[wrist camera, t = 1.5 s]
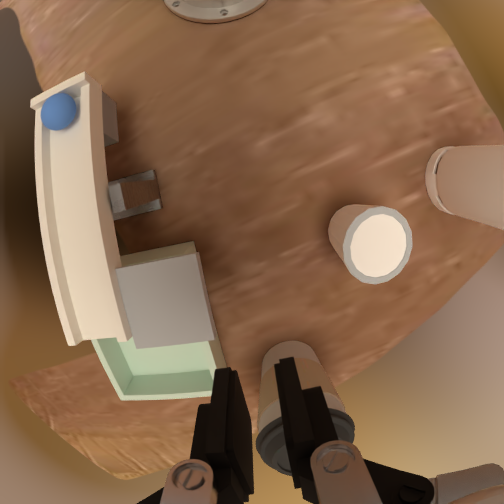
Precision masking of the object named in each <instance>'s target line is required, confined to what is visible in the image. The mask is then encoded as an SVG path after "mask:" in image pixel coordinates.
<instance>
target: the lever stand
mask: <svg viewBox="0 0 504 504" xmlns="http://www.w3.org/2000/svg"><path fill="white" fill-rule="evenodd" d="M108 189H109V195H110V202H111V209H112V215H113V221H114V220H117V219H121V218H125V217H129V216H133V215H137V214H141V213H145V212H149V211H153V210H158V209H161V208H163V206H162V201H161V197H160V192H159V187H158V182H157V177H156V172H155V170H150V171H146V172H142V173H139V174H135V175H132V176H128V177H125V178H122V179H118V180H115V181H112V182H108Z"/></svg>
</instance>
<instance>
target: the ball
mask: <svg viewBox="0 0 504 504" xmlns="http://www.w3.org/2000/svg"><path fill="white" fill-rule="evenodd" d="M75 114H76V104H75V101H74V99H73V98H72V97H71V96H70V95H68V94H66V93H57V94H54V95H52V96H50V97H49V98H48V99H47V100H46V101H45V102H44V104H43V106H42V109H41V121H42V123H43V125H44V126H45V127H46V128H48V129H50V130H55V131H57V130H61V129H64V128H65V127H67V126H68V125H69V124H70V123H71V122H72V121H73V119H74V117H75Z"/></svg>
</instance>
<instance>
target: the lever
mask: <svg viewBox="0 0 504 504" xmlns="http://www.w3.org/2000/svg"><path fill="white" fill-rule="evenodd" d="M57 93H66V94H68V95H70V96H71V97H72V98H73V99H74V101H75V104H76V114H75V117H74V119H73V121H72V122H71V123H70V124H69V125H68V126H67V127H65V128H64V129H61V130H57V131H55V130H50V129H48V128H46V127H45V126H44V125H43V123H42V121H41V109H42V106H43V104H44V102H45V101H46V100H47V99H48V98H49V97H50V96H52V95H54V94H57ZM31 108H32V109H34V110H36V118H35V172H36V189H37V200H38V211H39V220H40V227H41V234H42V241H43V247H44V253H45V258H46V263H47V268H48V273H49V278H50V282H51V287H52V291H53V295H54V298H55V303H56V306H57V310H58V313H59V317H60V321H61V324H62V327H63V331H64V334H65V336H66V340H67V343H68V345H69V346H70V345H71V346H72V345H77V344H78V343H80V342H81V341H82V340H90V339H103V338H114V337H116V338H117V341H118V342H126V341H128V340H129V339H130V338H131V337H133V340H134V343H135V346H136V349H142V348H153V347H162V346H171V345H180V344H188V343H196V342H204V341H211V340H215V338H216V335H217V333H216V328H215V324H214V320H213V315H212V311H211V307H210V302H209V298H208V293H207V288H206V284H205V279H204V274H203V270H202V265H201V260H200V255H199V252H196V253H190V254H185V255H180V256H175V257H170V258H165V259H159V260H154V261H149V262H144V263H139V264H134V265H129V266H124V267H122V264H121V259H120V254H119V249H118V244H117V239H116V233H115V227H114V221H113V215H112V209H111V202H110V195H109V189H108V179H107V170H106V160H105V149H104V147H106V146H108V145H111V144H114V143H117V142H119V137H118V125H117V109H116V102H115V101H113V100H112V99H111V98H110V97H109V96H108V95H106V94H105V93H104V92H103V91H102V86H101V85H100V84H99V83H98V82H97V81H96V80H94V79H93V78H92V77H91V76H90V75H89V74H88V73H86V72H85V71H84V72H82V73H80V74H78V75H76V76H74V77H72V78H70V79H68V80H66V81H64V82H62V83H60V84H58V85H56V86H54V87H52V88H50V89H49V90H47V91H45V92H43V93H41V94H40V95H38V96H36V97H34V98H33V99H32V100H31Z"/></svg>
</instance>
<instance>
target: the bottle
mask: <svg viewBox="0 0 504 504" xmlns="http://www.w3.org/2000/svg"><path fill="white" fill-rule="evenodd" d="M441 157H442V158H441ZM440 158H441V160H440ZM439 160H440V162H439ZM438 162H439V164H438ZM437 164H438V169H437V174H435V173H436V168H437ZM425 184H426V188H427V192H428V196H429V197H430V199H431V201H432V203H433V204H434V205H435V206H436V207H437V208H438V209H439V210H441V211H443V212H445V213H449V214H452V215H457V216H459V217H463V218H466V219H470V220H473V221H476V222H480V223H483V224H486V225H489V226H493V227H496V228H499V229H502V230H504V145H473V146H457V147H454V146H449V147H443V148H440V149H438V150H436V151H435V152H434V153H433V154H432V155H431V157H430V159H429V161H428V163H427V168H426V172H425ZM439 197H440V198H439ZM440 199H441V200H440ZM441 201H442V202H441ZM442 203H443V204H442Z"/></svg>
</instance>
